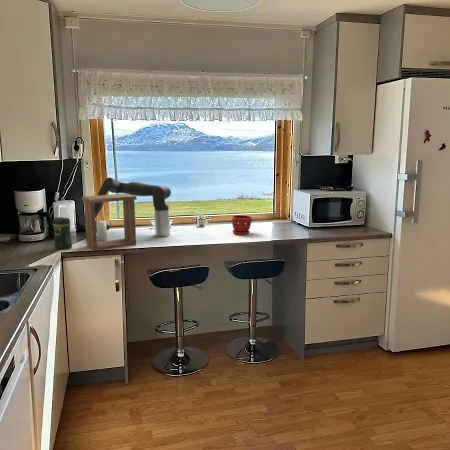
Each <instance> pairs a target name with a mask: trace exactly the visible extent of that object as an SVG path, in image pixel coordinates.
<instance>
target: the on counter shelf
mask: <svg viewBox="0 0 450 450" xmlns="http://www.w3.org/2000/svg"><path fill="white" fill-rule="evenodd" d="M137 199H138V198H137V196H134V195H130V194H125V193H113V194H106V195H99V196H97V195H90V196H89V195H87V196H81V201H83V205H84V206H83V207H84V216H85V225H86V227H85V235H86V236H85V237H86V238H85V239H86V247H88V248H89V249H90V248H91V249H90V250H92V251H93V252H95V251H103V250H108V249H110V250H111V249H116V248H118V249H119V248H123V247H130V246H136V245H137V231H136V230H137V229H136V211H135V209H136V207H135V206H136V205H135V200H136V201H137ZM121 201H122V208H123V230H124V231H123V232H124V238H121V239H120V238H119V239H112V240H106V241H98V240H97V232H96V221H97V219H95V204H94V203H100V202H103V203H110V202H121Z"/></svg>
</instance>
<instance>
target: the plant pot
mask: <svg viewBox="0 0 450 450" xmlns="http://www.w3.org/2000/svg"><path fill="white" fill-rule="evenodd" d="M231 218H232V219H231V223H232V224H231V225H232V228H233V230H232V233H233V234H234V235H238V236H239V235H240V236H245V235H249V234H250V229H251V225H252V216H249V215H245V214H244V215H243V214H239V215H238V214H236V215H232V217H231Z"/></svg>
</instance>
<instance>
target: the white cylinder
mask: <svg viewBox="0 0 450 450" xmlns="http://www.w3.org/2000/svg"><path fill="white" fill-rule="evenodd" d="M96 221H97V222H96V225H97V232H96V237H97V242H103V241H108V232H107V231H108V230H107V229H106V224H107V220H96Z"/></svg>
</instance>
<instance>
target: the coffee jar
mask: <svg viewBox="0 0 450 450" xmlns="http://www.w3.org/2000/svg"><path fill="white" fill-rule="evenodd" d="M52 226H53V232H54V233H53V234H54V249H56V250H62V249H63V250H70V249H71V248H73V243H72V242H73V241H72V236H71V219H70V218H68V217H63V216H62V217H61V216H59V217H54V218H53V219H52Z"/></svg>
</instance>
